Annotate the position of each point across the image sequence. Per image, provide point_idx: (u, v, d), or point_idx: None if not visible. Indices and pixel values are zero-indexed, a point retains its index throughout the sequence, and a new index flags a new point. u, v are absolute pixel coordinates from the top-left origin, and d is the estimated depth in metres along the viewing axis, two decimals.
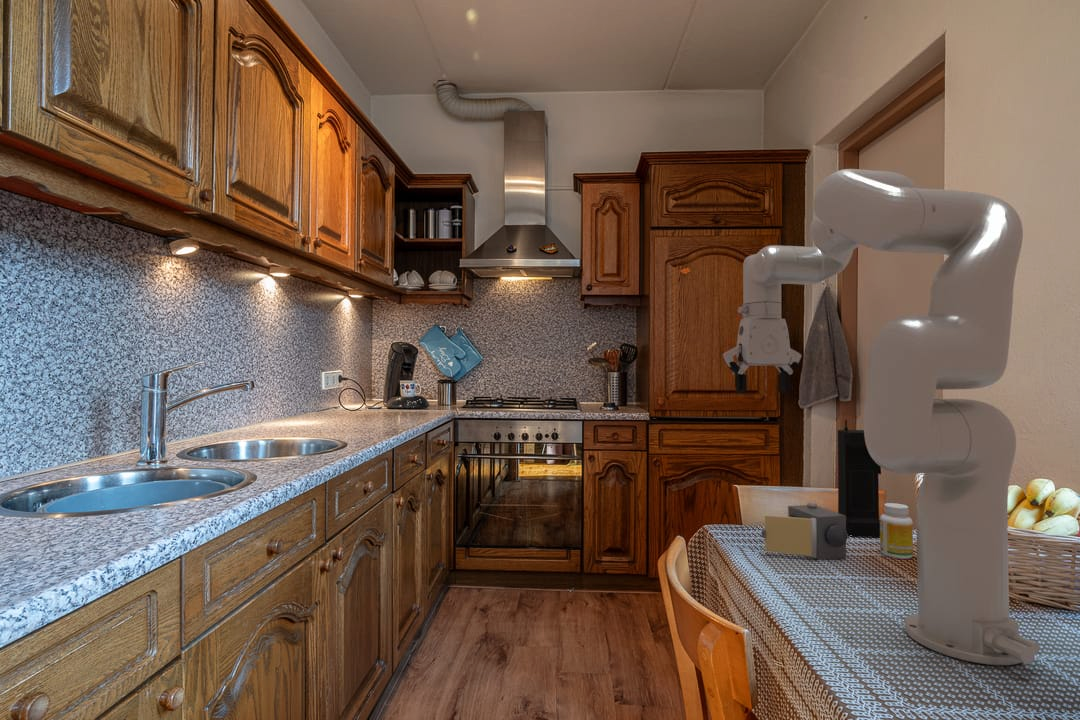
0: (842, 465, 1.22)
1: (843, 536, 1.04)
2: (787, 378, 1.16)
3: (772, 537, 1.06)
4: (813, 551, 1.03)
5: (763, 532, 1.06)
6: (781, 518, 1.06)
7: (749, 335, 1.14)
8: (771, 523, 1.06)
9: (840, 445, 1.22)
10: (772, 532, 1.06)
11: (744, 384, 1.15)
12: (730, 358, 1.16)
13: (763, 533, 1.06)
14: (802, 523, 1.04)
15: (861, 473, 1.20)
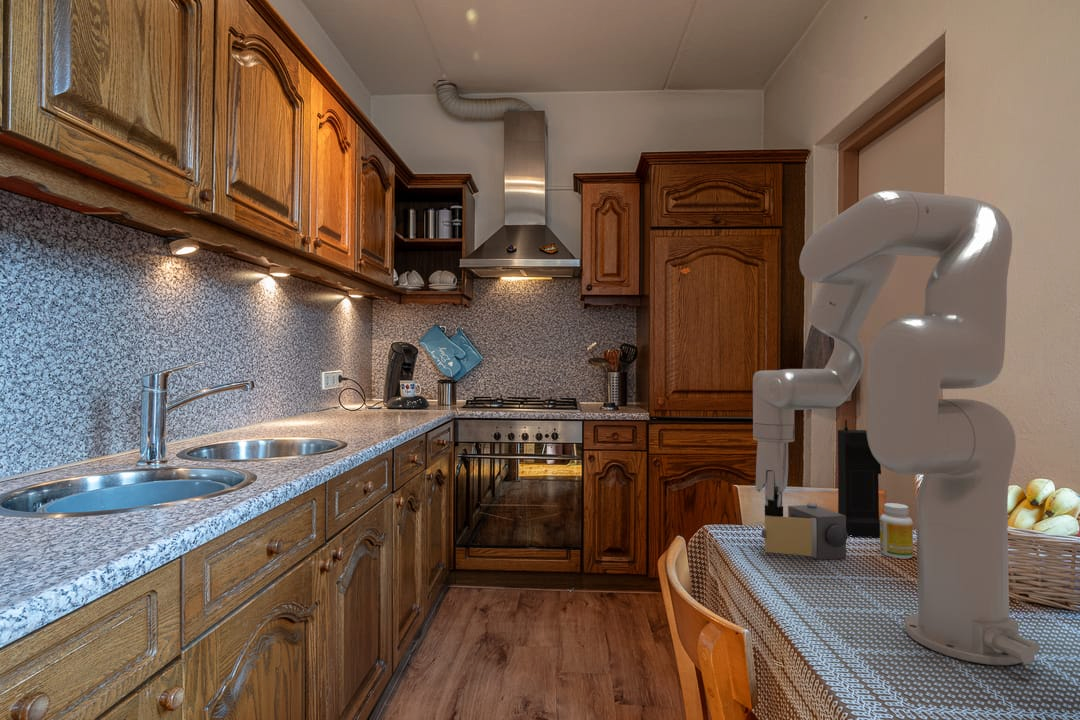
0: (842, 465, 1.22)
1: (843, 536, 1.04)
2: None
3: (772, 537, 1.06)
4: (813, 551, 1.03)
5: (763, 532, 1.06)
6: (781, 518, 1.05)
7: None
8: (771, 523, 1.06)
9: (840, 445, 1.22)
10: (772, 532, 1.06)
11: None
12: None
13: (763, 533, 1.06)
14: (802, 523, 1.04)
15: (861, 473, 1.20)
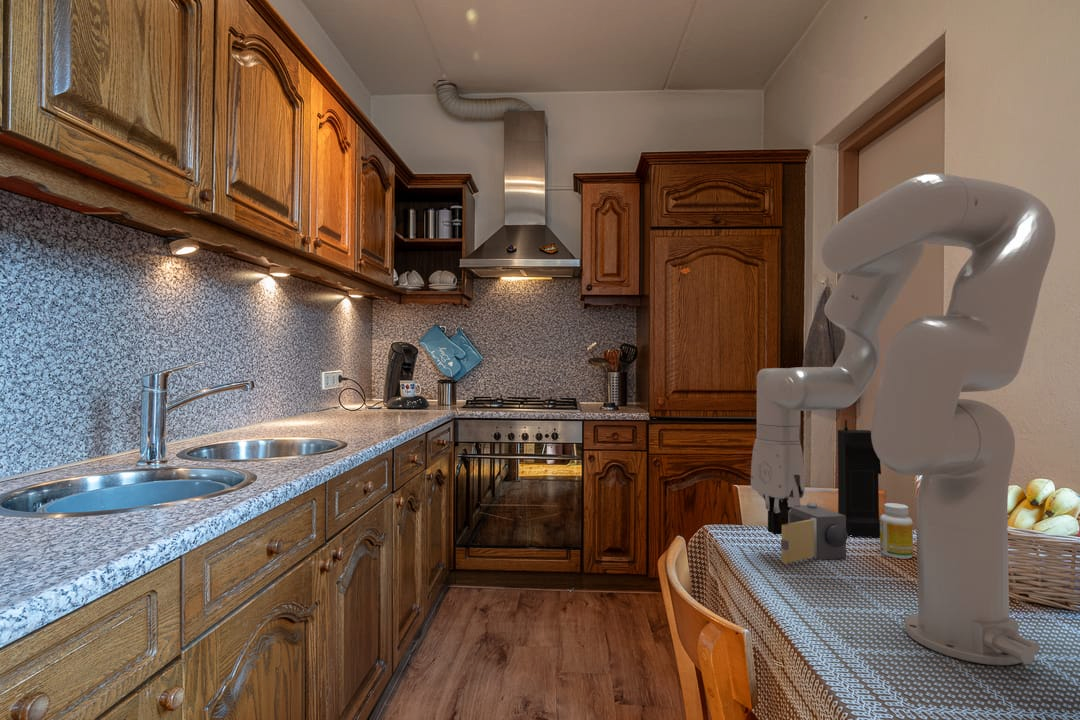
0: (842, 465, 1.22)
1: (843, 536, 1.04)
2: (772, 516, 1.02)
3: (790, 546, 1.00)
4: (815, 551, 1.03)
5: (786, 543, 0.99)
6: (795, 524, 1.01)
7: (752, 458, 1.07)
8: (789, 532, 1.00)
9: (840, 445, 1.22)
10: (790, 541, 1.00)
11: (768, 522, 1.03)
12: (762, 493, 1.06)
13: (786, 544, 0.99)
14: (808, 525, 1.03)
15: (861, 473, 1.20)
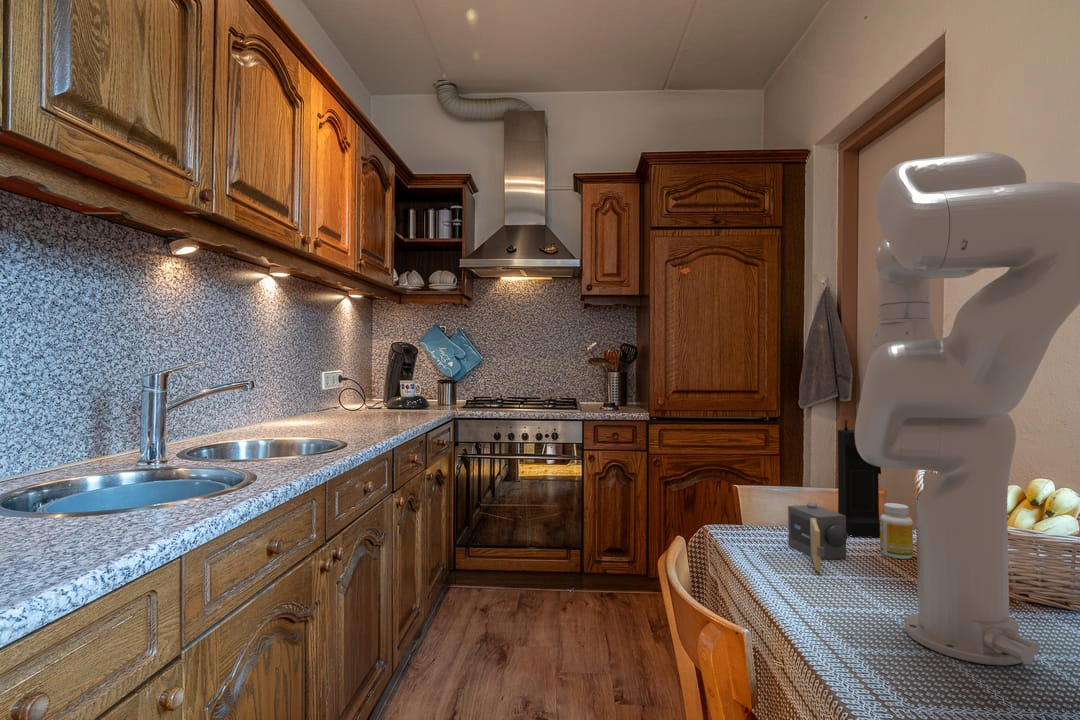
0: (842, 465, 1.22)
1: (843, 536, 1.04)
2: None
3: None
4: None
5: (823, 550, 0.95)
6: (818, 528, 0.99)
7: (873, 345, 1.01)
8: None
9: (840, 445, 1.22)
10: None
11: None
12: None
13: None
14: None
15: (861, 473, 1.20)
